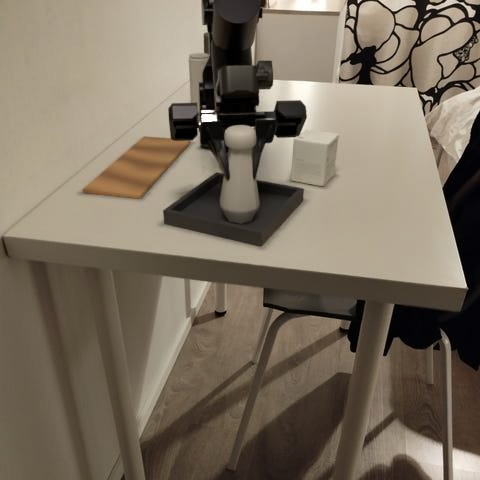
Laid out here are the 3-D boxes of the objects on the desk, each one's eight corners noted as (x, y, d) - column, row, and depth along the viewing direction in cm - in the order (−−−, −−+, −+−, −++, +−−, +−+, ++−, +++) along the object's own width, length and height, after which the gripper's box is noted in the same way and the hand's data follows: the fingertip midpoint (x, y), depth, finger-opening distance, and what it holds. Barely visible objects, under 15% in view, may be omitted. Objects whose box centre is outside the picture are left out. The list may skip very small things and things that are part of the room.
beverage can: (209, 114, 121) (207, 57, 113) (189, 113, 121) (186, 56, 114) (213, 108, 124) (212, 53, 117) (193, 107, 125) (191, 52, 118)
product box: (323, 187, 87) (328, 143, 83) (289, 181, 89) (292, 138, 85) (334, 175, 91) (339, 133, 87) (302, 169, 94) (305, 128, 89)
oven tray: (216, 184, 88) (216, 172, 87) (303, 201, 83) (304, 188, 81) (164, 223, 76) (162, 210, 75) (261, 246, 71) (261, 232, 69)
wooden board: (144, 139, 107) (143, 136, 106) (190, 142, 105) (190, 139, 105) (82, 192, 85) (82, 189, 84) (140, 198, 83) (140, 195, 83)
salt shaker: (225, 228, 73) (223, 136, 65) (215, 211, 78) (213, 122, 70) (264, 223, 75) (267, 132, 67) (253, 206, 79) (255, 119, 71)
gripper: (162, 36, 64) (169, 155, 62) (310, 34, 66) (321, 150, 64) (167, 87, 75) (173, 190, 73) (293, 84, 77) (303, 185, 75)
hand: (241, 178), depth 71 cm, fingers closed on salt shaker, 3 cm apart
